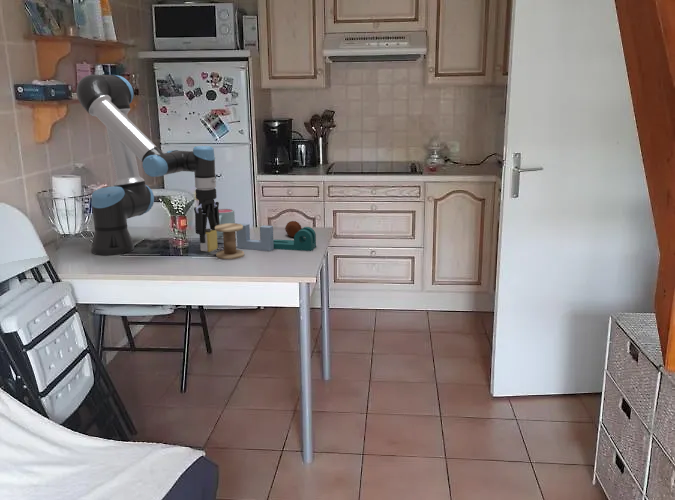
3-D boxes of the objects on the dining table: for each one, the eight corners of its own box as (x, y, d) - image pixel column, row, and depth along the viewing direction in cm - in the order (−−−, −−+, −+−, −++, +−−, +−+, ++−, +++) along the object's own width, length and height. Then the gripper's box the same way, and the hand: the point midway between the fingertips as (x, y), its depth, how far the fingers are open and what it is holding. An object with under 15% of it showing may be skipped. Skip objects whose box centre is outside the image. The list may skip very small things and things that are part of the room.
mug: (215, 231, 267) (214, 208, 265) (237, 231, 267) (236, 208, 264) (208, 239, 254) (206, 215, 252) (230, 239, 254) (229, 215, 251)
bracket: (316, 247, 242) (315, 227, 240) (311, 251, 235) (311, 231, 233) (271, 244, 246) (270, 225, 244) (265, 249, 239) (265, 229, 237)
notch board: (237, 248, 240) (236, 225, 238) (241, 246, 243) (240, 223, 241) (270, 251, 235) (269, 227, 233) (273, 249, 238) (273, 226, 236)
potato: (283, 238, 255) (282, 222, 253) (287, 233, 264) (286, 218, 262) (300, 238, 254) (299, 223, 253) (303, 233, 263) (303, 218, 262)
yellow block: (200, 251, 237) (199, 230, 234) (208, 247, 241) (207, 227, 239) (209, 251, 235) (208, 231, 233) (217, 248, 240) (216, 228, 238)
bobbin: (211, 257, 227) (209, 228, 224) (225, 251, 236) (223, 222, 233) (235, 260, 223) (234, 230, 221) (249, 253, 233) (247, 224, 230)
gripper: (200, 193, 223) (204, 255, 228) (227, 185, 240) (230, 243, 245) (182, 191, 225) (186, 254, 231) (210, 184, 242) (213, 242, 248)
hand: (208, 248), depth 238 cm, fingers open, 6 cm apart
